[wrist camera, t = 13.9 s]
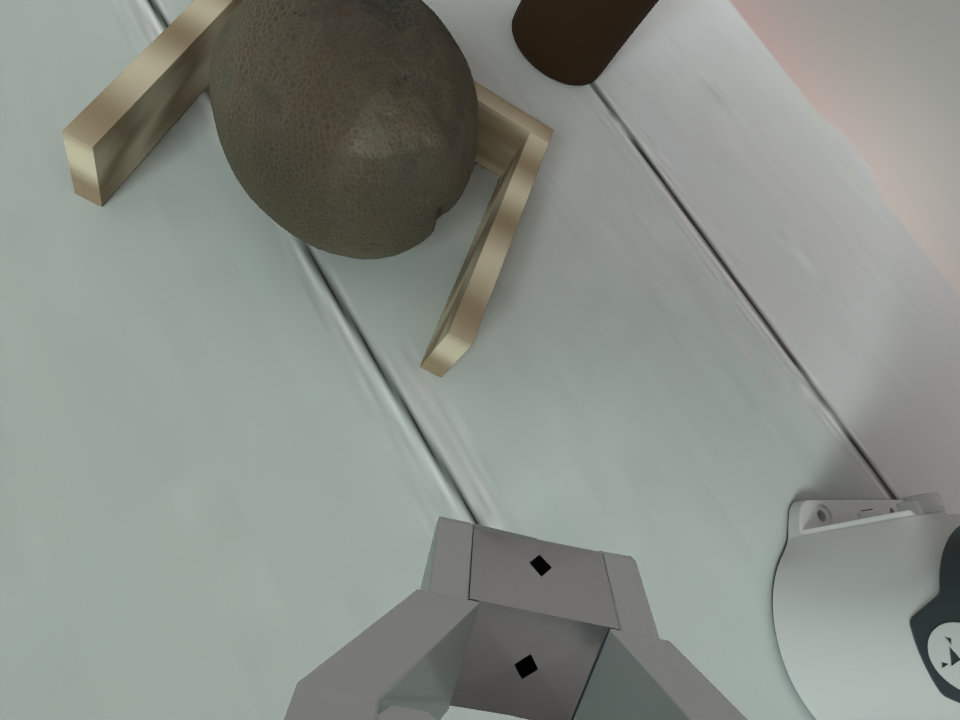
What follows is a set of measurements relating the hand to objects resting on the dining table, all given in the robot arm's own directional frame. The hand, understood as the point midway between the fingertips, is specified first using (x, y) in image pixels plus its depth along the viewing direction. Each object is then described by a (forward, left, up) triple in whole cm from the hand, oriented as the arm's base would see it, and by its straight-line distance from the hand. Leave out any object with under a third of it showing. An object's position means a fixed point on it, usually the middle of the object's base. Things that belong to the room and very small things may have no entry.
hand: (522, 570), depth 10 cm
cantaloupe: (-6, -24, -26) cm, 36 cm away
